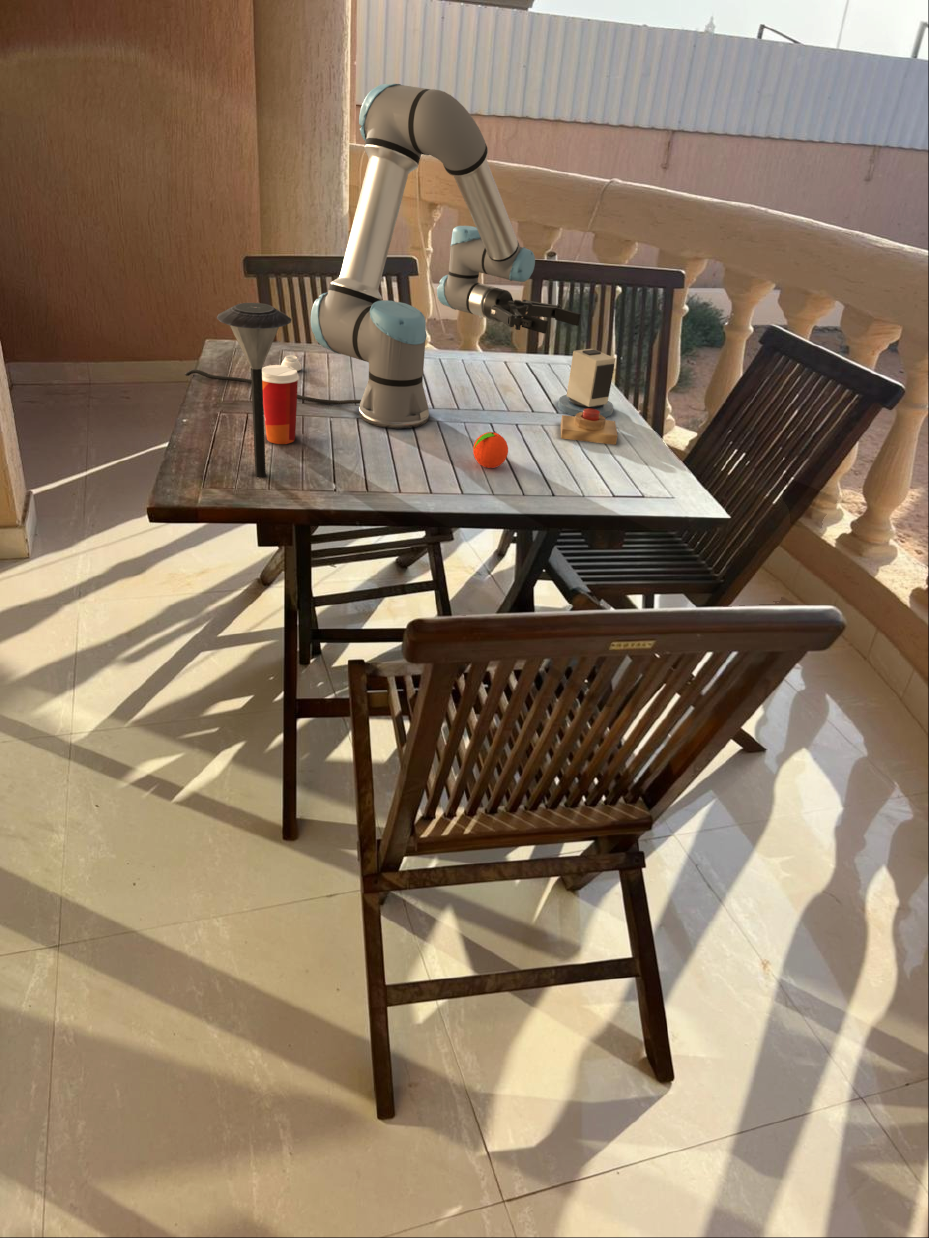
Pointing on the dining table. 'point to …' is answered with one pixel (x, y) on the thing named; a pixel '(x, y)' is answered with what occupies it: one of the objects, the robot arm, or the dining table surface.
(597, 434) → the button block
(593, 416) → the button
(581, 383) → the panel
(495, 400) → the dining table surface
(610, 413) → the swivel base
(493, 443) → the clementine
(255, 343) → the solar garden light
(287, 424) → the paper cup
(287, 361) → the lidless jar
